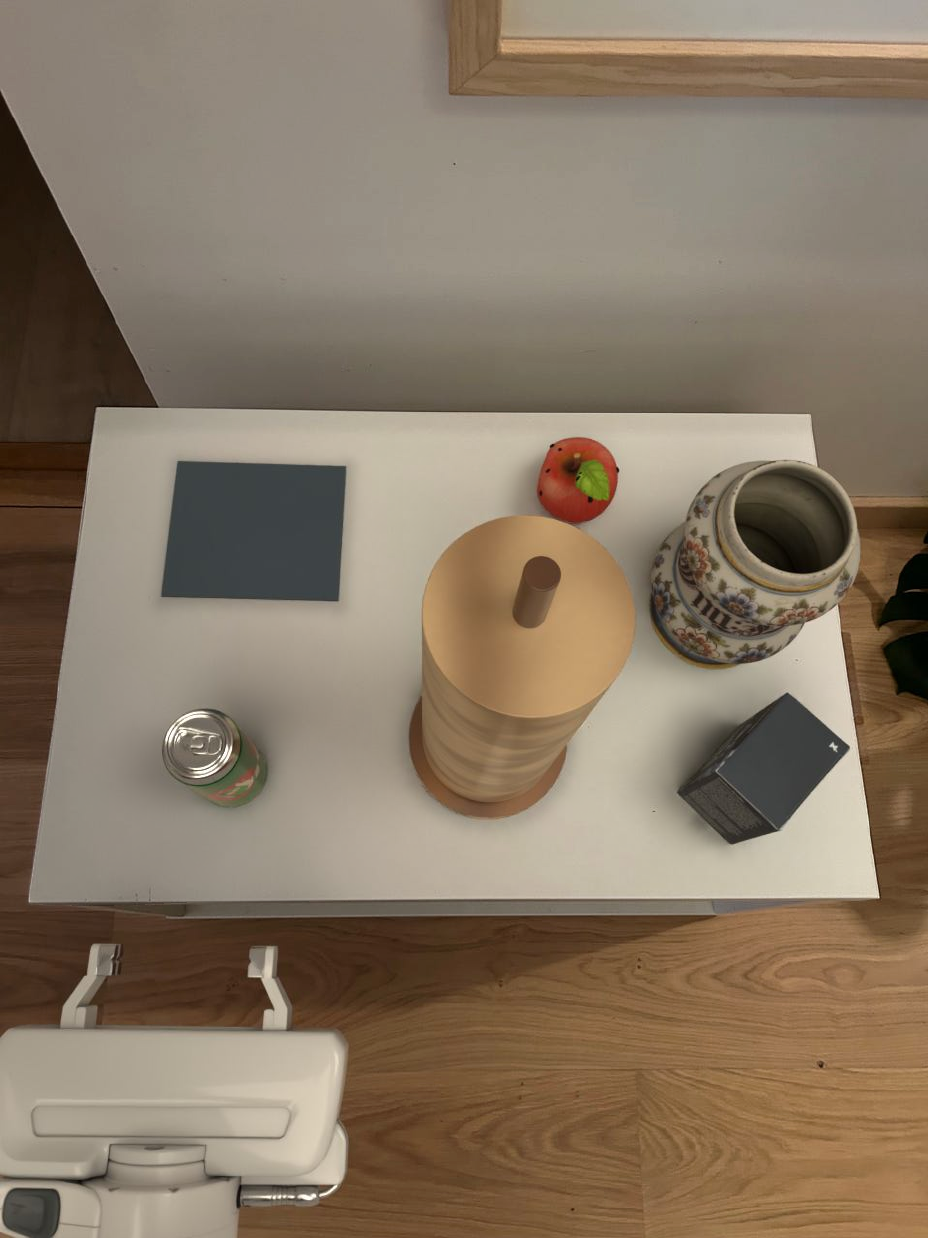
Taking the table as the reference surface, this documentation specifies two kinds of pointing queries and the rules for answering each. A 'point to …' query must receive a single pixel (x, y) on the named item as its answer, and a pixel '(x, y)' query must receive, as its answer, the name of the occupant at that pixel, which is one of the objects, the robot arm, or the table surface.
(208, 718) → the soda can
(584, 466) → the apple
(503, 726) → the towel stand
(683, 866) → the table surface
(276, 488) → the mat
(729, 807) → the box
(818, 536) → the apothecary jar
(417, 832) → the table surface
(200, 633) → the table surface
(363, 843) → the table surface
